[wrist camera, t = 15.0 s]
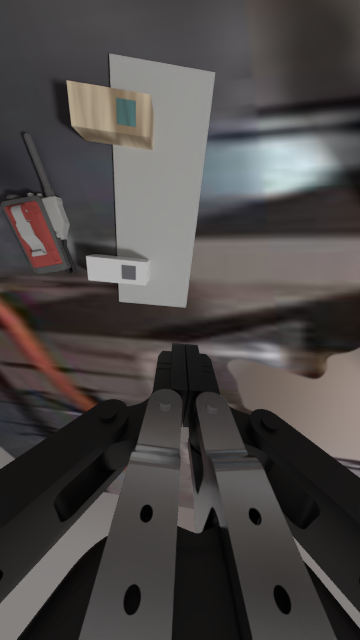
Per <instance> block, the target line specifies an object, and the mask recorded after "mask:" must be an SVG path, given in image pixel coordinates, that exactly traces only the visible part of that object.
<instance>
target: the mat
mask: <svg viewBox="0 0 360 640" xmlns="http://www.w3.org/2000/svg"><path fill="white" fill-rule="evenodd" d="M109 59H110V85H111V88H115V89H121V90H127V91H133V92H139V93H145V94H151V100H152V106H153V111H154V129H153V150H147V149H140V148H134V147H127V146H120V145H113V160H114V185H115V210H116V235H117V256H120V257H129V258H139V259H149V281H148V283H147V285H146V286H145V285H135V284H124V283H118V286H119V302H129V303H141V304H152V305H163V306H175V307H186V302H187V294H188V286H189V278H190V270H191V262H192V254H193V246H194V238H195V230H196V222H197V214H198V206H199V198H200V190H201V182H202V174H203V166H204V158H205V150H206V142H207V134H208V127H209V119H210V111H211V103H212V95H213V87H214V79H215V72H209V71H204V70H198V69H193V68H187V67H181V66H176V65H170V64H165V63H159V62H153V61H148V60H142V59H137V58H131V57H125V56H120V55H114V54H109Z"/></svg>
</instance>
